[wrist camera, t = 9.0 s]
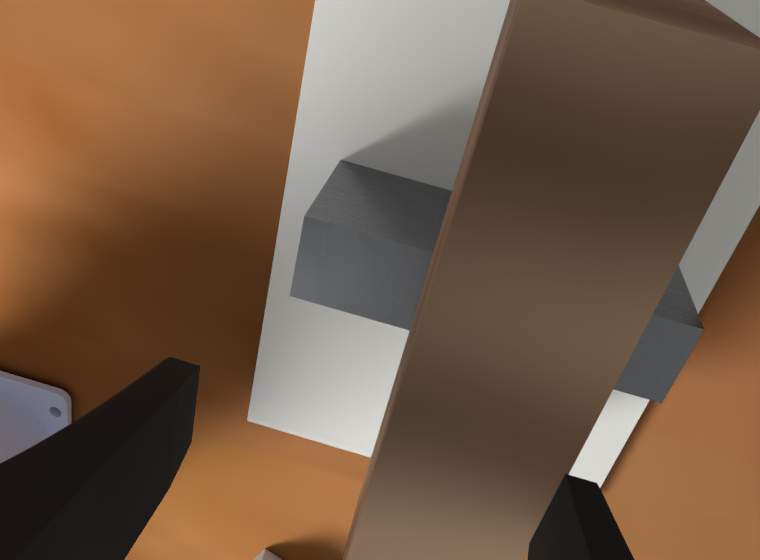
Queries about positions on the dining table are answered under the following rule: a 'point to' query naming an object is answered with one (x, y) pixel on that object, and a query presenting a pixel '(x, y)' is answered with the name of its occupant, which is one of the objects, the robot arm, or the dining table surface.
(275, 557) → the decorative molding
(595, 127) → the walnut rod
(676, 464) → the dining table surface
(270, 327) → the grey board
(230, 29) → the dining table surface
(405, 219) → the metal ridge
